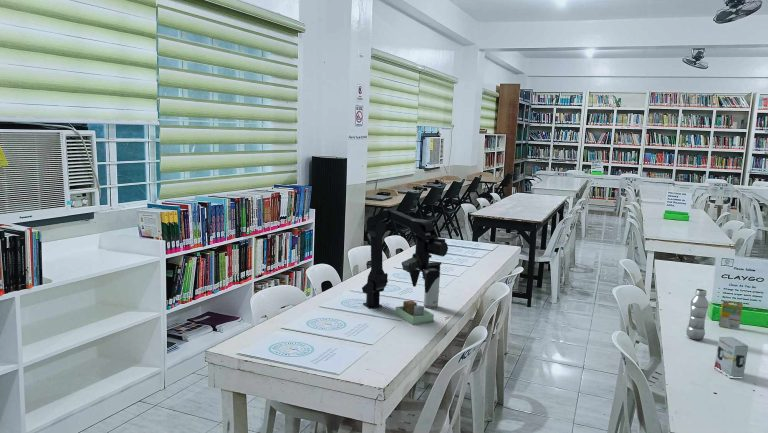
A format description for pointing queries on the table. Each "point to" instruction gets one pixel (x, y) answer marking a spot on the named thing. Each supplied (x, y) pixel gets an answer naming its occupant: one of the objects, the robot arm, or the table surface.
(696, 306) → the plastic bottle
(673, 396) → the table surface
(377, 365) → the table surface
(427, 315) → the parts tray
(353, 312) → the table surface
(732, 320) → the crayon box
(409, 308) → the walnut block
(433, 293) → the travel mug
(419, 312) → the grey domed knob
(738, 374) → the ink box
